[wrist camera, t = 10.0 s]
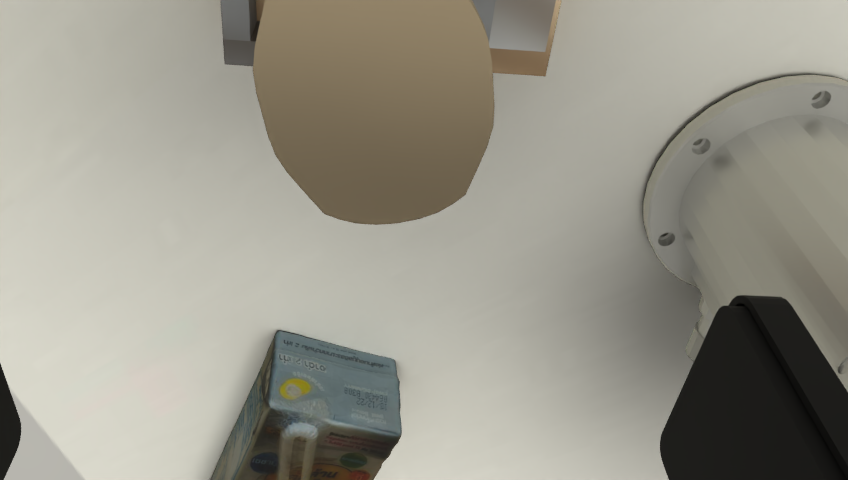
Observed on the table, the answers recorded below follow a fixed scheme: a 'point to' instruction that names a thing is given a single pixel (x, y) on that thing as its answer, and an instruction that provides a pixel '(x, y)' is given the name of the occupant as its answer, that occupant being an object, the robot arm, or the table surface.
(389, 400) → the beverage carton
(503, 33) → the wooden tray
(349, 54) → the handle
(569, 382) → the table surface
